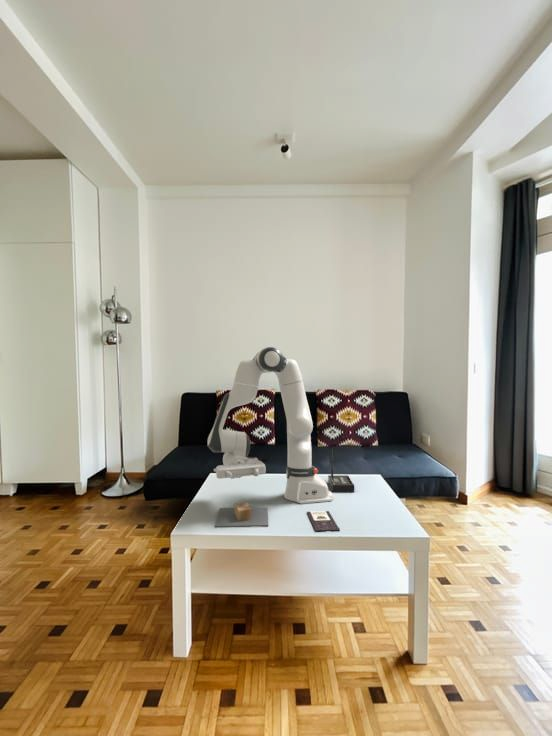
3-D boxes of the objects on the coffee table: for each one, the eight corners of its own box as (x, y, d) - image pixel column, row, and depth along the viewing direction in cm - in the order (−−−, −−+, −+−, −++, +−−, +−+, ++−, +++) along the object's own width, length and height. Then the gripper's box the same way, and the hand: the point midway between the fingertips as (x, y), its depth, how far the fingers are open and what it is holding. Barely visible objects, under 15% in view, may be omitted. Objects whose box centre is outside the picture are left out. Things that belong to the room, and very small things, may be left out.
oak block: (251, 519, 150) (246, 512, 157) (251, 509, 150) (246, 502, 157) (238, 521, 148) (234, 513, 156) (238, 510, 148) (234, 503, 156)
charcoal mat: (267, 508, 163) (267, 507, 163) (268, 526, 145) (268, 525, 145) (220, 509, 162) (219, 508, 162) (214, 527, 144) (214, 525, 144)
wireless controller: (358, 493, 183) (358, 457, 183) (328, 493, 183) (328, 457, 183) (350, 480, 203) (350, 448, 203) (323, 480, 203) (323, 448, 203)
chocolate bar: (315, 530, 140) (307, 511, 158) (315, 533, 140) (307, 514, 158) (339, 529, 141) (328, 511, 158) (339, 532, 141) (328, 513, 158)
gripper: (212, 461, 160) (218, 469, 147) (260, 457, 166) (269, 465, 153) (213, 476, 160) (218, 486, 147) (260, 471, 166) (269, 480, 153)
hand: (244, 475), depth 150 cm, fingers open, 8 cm apart
